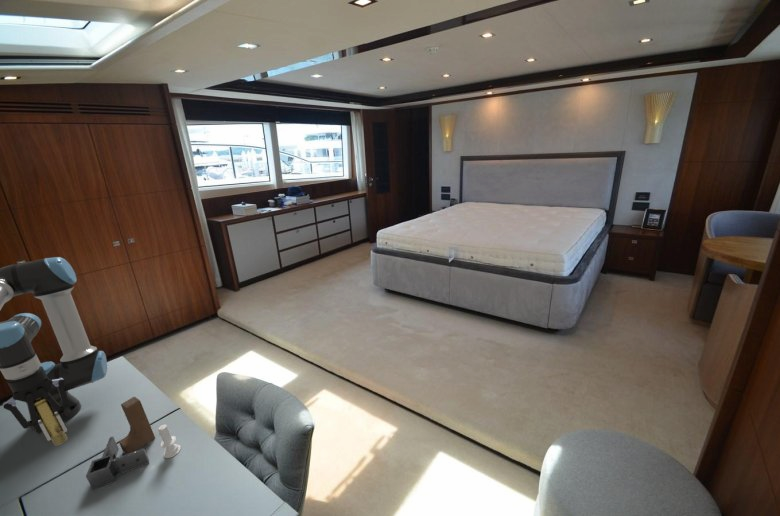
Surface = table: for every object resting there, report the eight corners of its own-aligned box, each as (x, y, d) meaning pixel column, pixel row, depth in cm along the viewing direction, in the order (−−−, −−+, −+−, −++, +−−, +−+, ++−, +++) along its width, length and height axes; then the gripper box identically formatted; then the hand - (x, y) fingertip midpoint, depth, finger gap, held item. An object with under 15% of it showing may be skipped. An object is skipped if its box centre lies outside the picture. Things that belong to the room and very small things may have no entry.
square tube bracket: (107, 452, 121) (101, 440, 119) (155, 436, 126) (150, 423, 124) (92, 489, 108) (85, 476, 106) (147, 469, 113) (141, 456, 111)
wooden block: (128, 457, 118) (110, 417, 112) (122, 451, 121) (104, 412, 115) (155, 438, 125) (140, 400, 119) (150, 433, 128) (134, 395, 122)
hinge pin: (51, 442, 107) (28, 400, 101) (67, 434, 110) (45, 392, 104) (54, 448, 104) (30, 405, 99) (70, 439, 107) (48, 397, 102)
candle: (166, 461, 116) (155, 435, 112) (161, 452, 119) (151, 426, 115) (183, 450, 119) (173, 424, 115) (178, 442, 123) (168, 417, 119)
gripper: (-16, 394, 90) (23, 459, 98) (63, 361, 102) (92, 421, 110) (-19, 384, 94) (18, 447, 102) (58, 354, 106) (86, 412, 114)
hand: (56, 433), depth 106 cm, fingers closed on hinge pin, 3 cm apart
